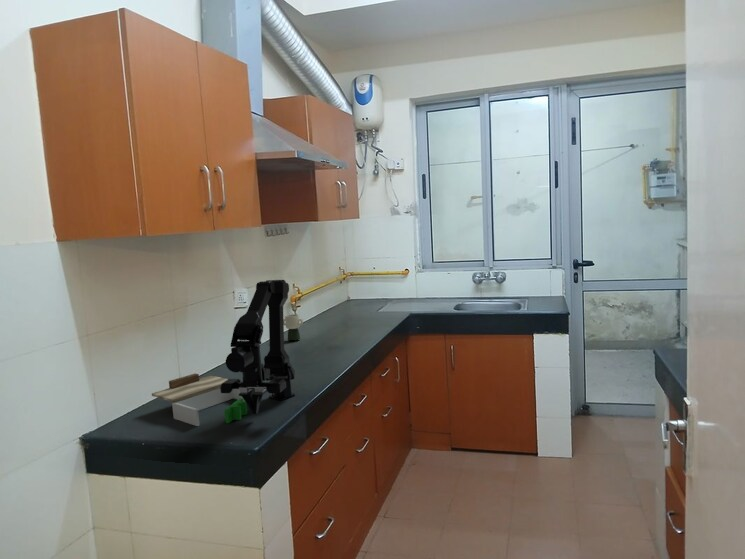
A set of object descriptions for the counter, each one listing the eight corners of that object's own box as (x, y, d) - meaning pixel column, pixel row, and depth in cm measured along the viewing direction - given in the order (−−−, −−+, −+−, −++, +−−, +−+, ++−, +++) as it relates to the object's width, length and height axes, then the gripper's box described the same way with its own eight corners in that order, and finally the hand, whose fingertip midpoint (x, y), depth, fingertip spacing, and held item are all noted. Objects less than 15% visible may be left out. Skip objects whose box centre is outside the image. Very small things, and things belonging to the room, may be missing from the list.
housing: (257, 403, 175) (256, 388, 174) (197, 426, 157) (195, 409, 157) (233, 397, 183) (232, 383, 182) (173, 418, 165) (172, 402, 165)
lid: (233, 382, 182) (233, 373, 181) (173, 402, 164) (172, 392, 164) (211, 377, 190) (210, 368, 189) (151, 395, 172) (150, 386, 172)
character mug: (306, 339, 271) (304, 314, 270) (301, 342, 264) (299, 316, 263) (287, 339, 274) (285, 314, 273) (281, 342, 267) (279, 316, 266)
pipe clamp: (236, 424, 158) (235, 410, 158) (225, 423, 159) (224, 410, 158) (251, 411, 168) (249, 398, 168) (240, 411, 169) (239, 397, 168)
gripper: (290, 355, 164) (294, 404, 165) (234, 356, 167) (238, 404, 169) (277, 365, 153) (281, 418, 154) (217, 365, 156) (222, 417, 158)
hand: (255, 413), depth 159 cm, fingers closed
